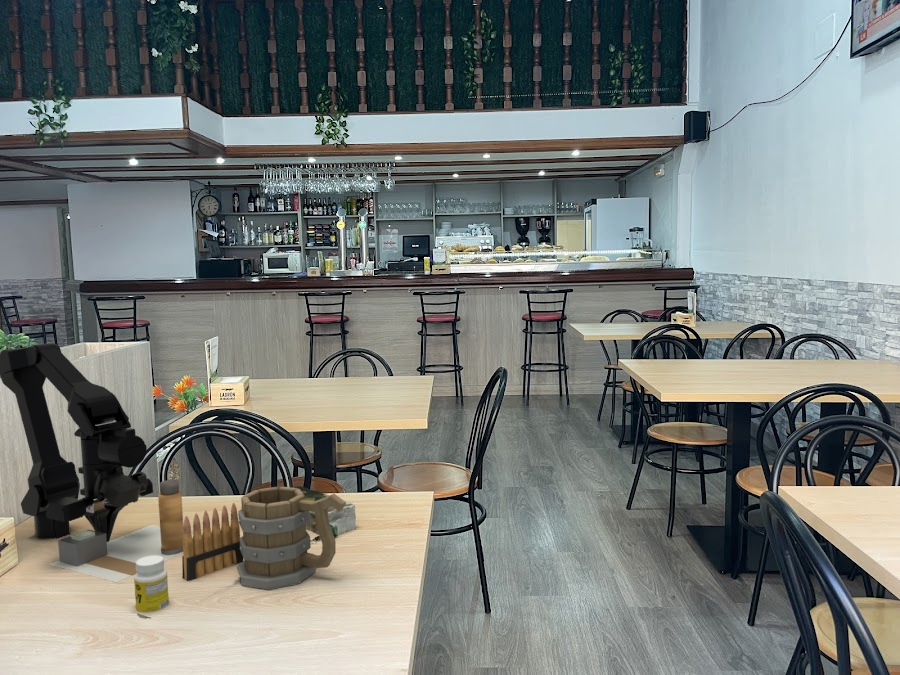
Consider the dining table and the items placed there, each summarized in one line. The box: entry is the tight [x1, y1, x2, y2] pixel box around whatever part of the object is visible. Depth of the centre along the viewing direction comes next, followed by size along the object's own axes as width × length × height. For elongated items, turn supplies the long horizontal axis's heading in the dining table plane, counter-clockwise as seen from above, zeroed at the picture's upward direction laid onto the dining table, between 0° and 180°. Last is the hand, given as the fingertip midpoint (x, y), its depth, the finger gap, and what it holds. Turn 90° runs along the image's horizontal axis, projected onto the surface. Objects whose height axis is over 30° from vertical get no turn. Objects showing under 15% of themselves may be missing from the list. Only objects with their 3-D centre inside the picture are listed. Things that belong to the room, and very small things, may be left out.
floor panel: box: [49, 524, 193, 583], centre depth 134 cm, size 18×22×1 cm
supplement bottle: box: [133, 555, 170, 620], centre depth 112 cm, size 5×5×8 cm
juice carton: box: [292, 485, 357, 542], centre depth 149 cm, size 20×10×6 cm, turn 48°
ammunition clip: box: [181, 502, 244, 582], centre depth 124 cm, size 11×2×12 cm, turn 137°
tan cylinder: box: [157, 479, 184, 555], centre depth 133 cm, size 4×4×13 cm
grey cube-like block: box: [57, 529, 108, 567], centre depth 131 cm, size 5×6×5 cm
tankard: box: [236, 486, 346, 591], centre depth 124 cm, size 20×13×15 cm, turn 69°
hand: (105, 542), depth 135 cm, fingers closed
